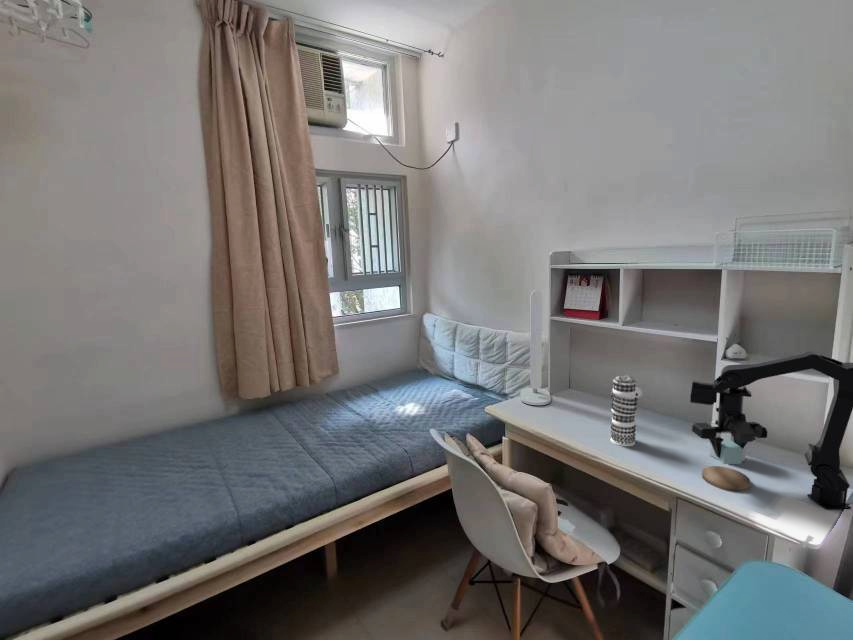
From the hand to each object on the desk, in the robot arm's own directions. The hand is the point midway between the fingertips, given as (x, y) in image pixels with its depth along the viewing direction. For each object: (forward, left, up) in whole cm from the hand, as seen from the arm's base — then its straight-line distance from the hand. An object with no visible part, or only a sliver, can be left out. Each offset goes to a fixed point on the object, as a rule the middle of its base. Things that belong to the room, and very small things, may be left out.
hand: (727, 456), depth 129 cm
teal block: (0, 0, -1) cm, 1 cm away
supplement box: (-9, -14, -8) cm, 19 cm away
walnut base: (0, 0, -8) cm, 8 cm away
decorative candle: (+20, -28, -8) cm, 35 cm away
